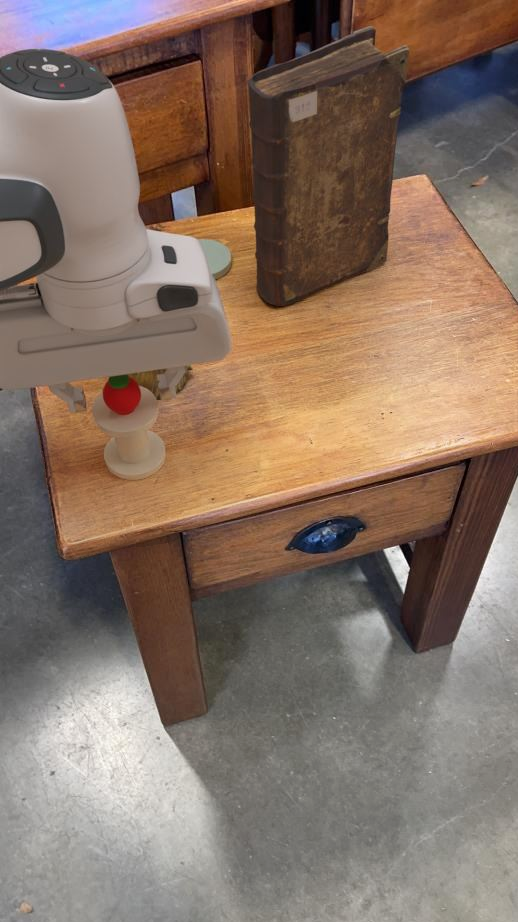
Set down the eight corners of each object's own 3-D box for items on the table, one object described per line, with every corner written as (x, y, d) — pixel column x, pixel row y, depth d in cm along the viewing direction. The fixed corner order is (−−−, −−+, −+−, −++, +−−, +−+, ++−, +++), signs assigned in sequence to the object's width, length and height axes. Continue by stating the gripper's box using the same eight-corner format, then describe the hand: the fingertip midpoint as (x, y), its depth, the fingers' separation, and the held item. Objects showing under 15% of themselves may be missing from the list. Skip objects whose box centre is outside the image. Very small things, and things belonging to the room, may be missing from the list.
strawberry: (107, 423, 75) (100, 395, 72) (104, 396, 77) (97, 368, 74) (145, 417, 75) (139, 389, 72) (141, 391, 77) (135, 362, 74)
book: (271, 313, 94) (268, 95, 74) (240, 279, 98) (230, 61, 78) (391, 266, 99) (419, 50, 79) (357, 235, 103) (377, 20, 83)
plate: (177, 285, 97) (176, 278, 96) (169, 249, 101) (168, 242, 100) (236, 278, 98) (235, 271, 97) (226, 242, 102) (225, 235, 101)
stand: (107, 484, 80) (94, 436, 74) (102, 438, 83) (89, 389, 77) (169, 474, 80) (161, 426, 75) (162, 429, 84) (153, 379, 78)
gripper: (-43, 321, 61) (7, 444, 72) (231, 285, 64) (238, 409, 75) (-42, 268, 65) (6, 393, 76) (217, 236, 67) (227, 361, 78)
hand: (123, 401), depth 75 cm, fingers open, 7 cm apart
